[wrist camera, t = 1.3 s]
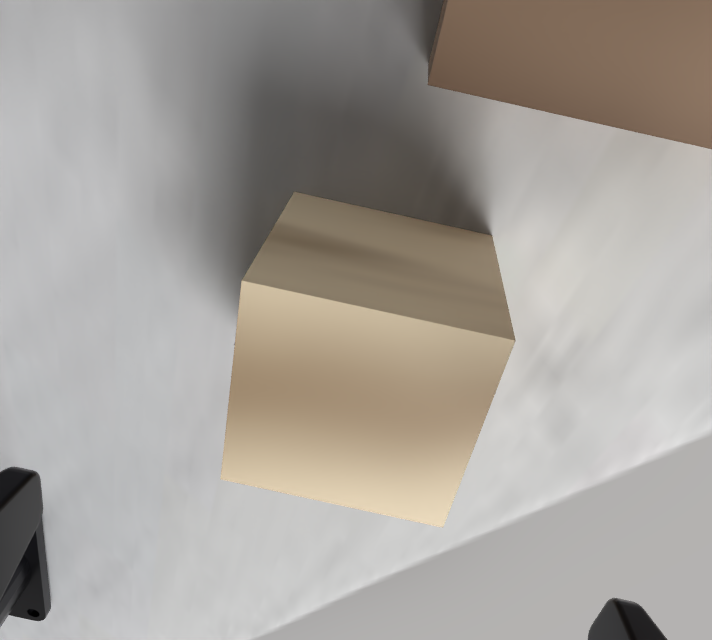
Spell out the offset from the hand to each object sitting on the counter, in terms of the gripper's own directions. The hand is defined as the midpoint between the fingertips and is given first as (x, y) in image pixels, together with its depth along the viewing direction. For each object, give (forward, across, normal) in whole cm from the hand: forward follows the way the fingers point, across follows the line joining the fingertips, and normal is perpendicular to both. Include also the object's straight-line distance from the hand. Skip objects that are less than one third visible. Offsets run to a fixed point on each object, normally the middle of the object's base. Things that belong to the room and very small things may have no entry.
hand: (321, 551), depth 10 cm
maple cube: (+8, 0, 0) cm, 8 cm away
